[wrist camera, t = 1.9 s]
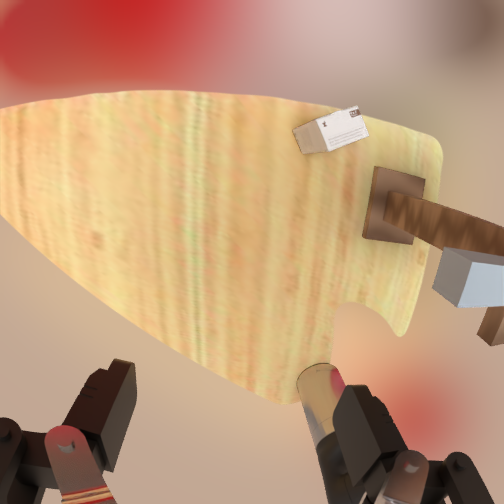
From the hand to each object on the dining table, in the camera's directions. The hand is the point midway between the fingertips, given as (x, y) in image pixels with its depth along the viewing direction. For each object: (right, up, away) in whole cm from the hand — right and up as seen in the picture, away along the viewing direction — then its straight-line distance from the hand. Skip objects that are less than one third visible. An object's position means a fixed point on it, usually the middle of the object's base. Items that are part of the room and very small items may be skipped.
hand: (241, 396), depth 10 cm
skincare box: (+10, +23, +33) cm, 41 cm away
